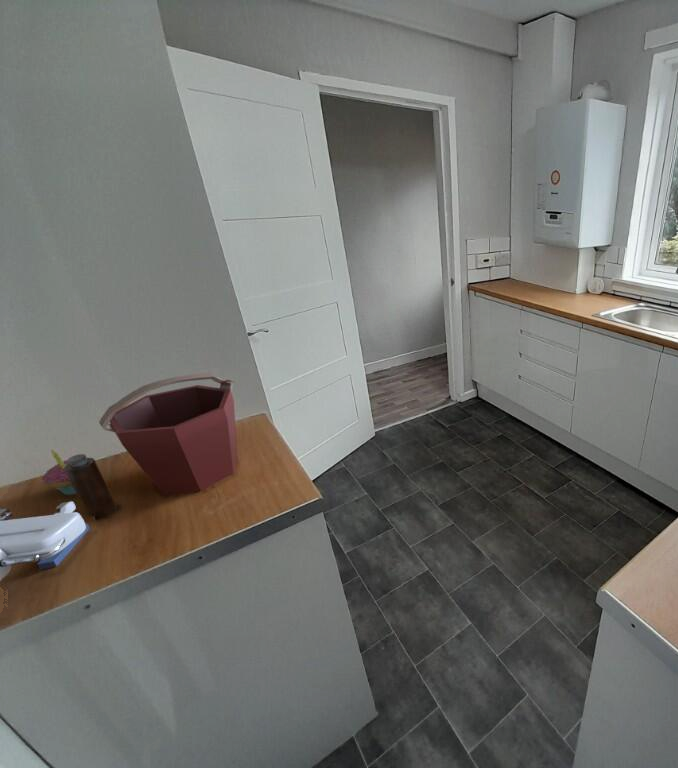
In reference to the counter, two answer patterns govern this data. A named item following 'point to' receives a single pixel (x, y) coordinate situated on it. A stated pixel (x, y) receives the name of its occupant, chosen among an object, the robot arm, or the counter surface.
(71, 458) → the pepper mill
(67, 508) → the robot arm
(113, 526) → the counter surface
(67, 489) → the cupcake
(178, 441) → the bucket
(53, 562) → the blue stick
